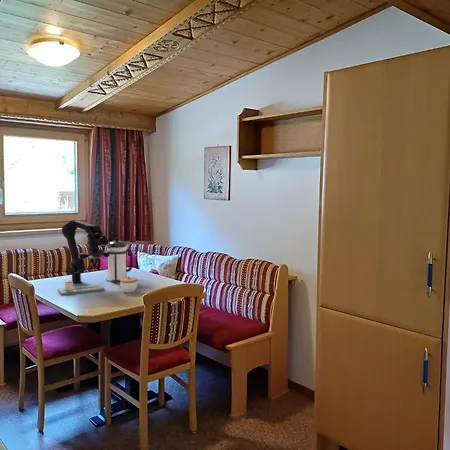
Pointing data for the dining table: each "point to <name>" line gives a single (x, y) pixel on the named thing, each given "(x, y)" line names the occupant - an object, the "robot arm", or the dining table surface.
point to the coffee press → (118, 260)
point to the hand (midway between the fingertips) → (94, 268)
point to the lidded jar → (128, 284)
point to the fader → (68, 284)
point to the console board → (81, 289)
